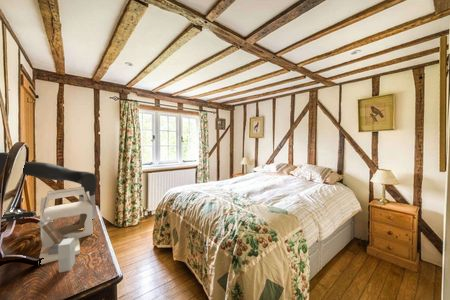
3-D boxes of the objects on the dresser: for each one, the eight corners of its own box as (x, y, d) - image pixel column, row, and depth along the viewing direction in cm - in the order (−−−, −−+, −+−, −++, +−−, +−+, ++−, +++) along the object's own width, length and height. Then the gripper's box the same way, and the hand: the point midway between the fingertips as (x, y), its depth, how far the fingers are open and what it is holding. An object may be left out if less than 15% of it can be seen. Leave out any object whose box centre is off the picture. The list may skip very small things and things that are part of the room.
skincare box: (63, 264, 89) (63, 238, 89) (75, 262, 91) (74, 237, 90) (58, 273, 84) (57, 245, 83) (70, 270, 85) (69, 243, 85)
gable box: (42, 248, 102) (41, 195, 100) (40, 239, 110) (38, 190, 109) (93, 234, 118) (92, 187, 116) (87, 227, 127) (86, 184, 125)
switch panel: (41, 250, 100) (41, 239, 99) (78, 241, 109) (78, 231, 109) (38, 265, 89) (38, 252, 88) (80, 253, 98) (79, 241, 98)
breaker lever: (61, 241, 101) (43, 218, 98) (66, 238, 101) (48, 216, 99) (56, 246, 96) (37, 223, 93) (61, 243, 96) (42, 220, 93)
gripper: (-28, 214, 83) (25, 210, 88) (-3, 204, 95) (42, 202, 101) (-27, 232, 83) (25, 227, 88) (-3, 219, 95) (42, 216, 101)
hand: (34, 213), depth 94 cm, fingers closed
